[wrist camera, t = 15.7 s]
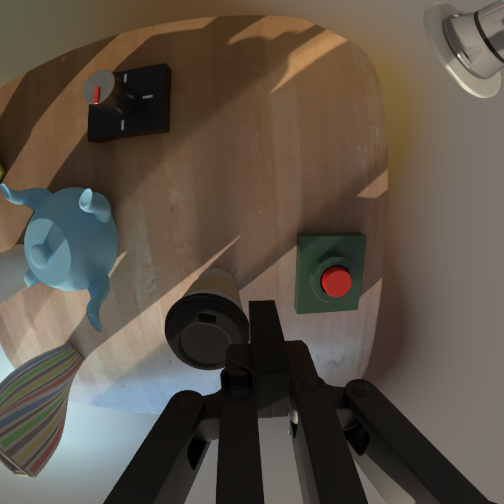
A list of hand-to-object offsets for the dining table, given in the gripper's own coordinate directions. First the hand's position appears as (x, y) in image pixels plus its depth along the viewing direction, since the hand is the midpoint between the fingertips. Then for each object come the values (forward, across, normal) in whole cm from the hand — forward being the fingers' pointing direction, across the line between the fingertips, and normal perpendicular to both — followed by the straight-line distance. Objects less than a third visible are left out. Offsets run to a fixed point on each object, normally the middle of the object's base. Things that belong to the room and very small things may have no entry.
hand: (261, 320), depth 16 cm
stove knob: (+21, -17, +20) cm, 34 cm away
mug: (+25, -45, -5) cm, 52 cm away
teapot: (+25, -26, +1) cm, 36 cm away
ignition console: (+25, +12, -6) cm, 28 cm away
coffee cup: (+25, -5, -8) cm, 26 cm away
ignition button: (+21, +12, -6) cm, 25 cm away
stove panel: (+25, -17, +20) cm, 36 cm away
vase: (+25, -37, -24) cm, 51 cm away
